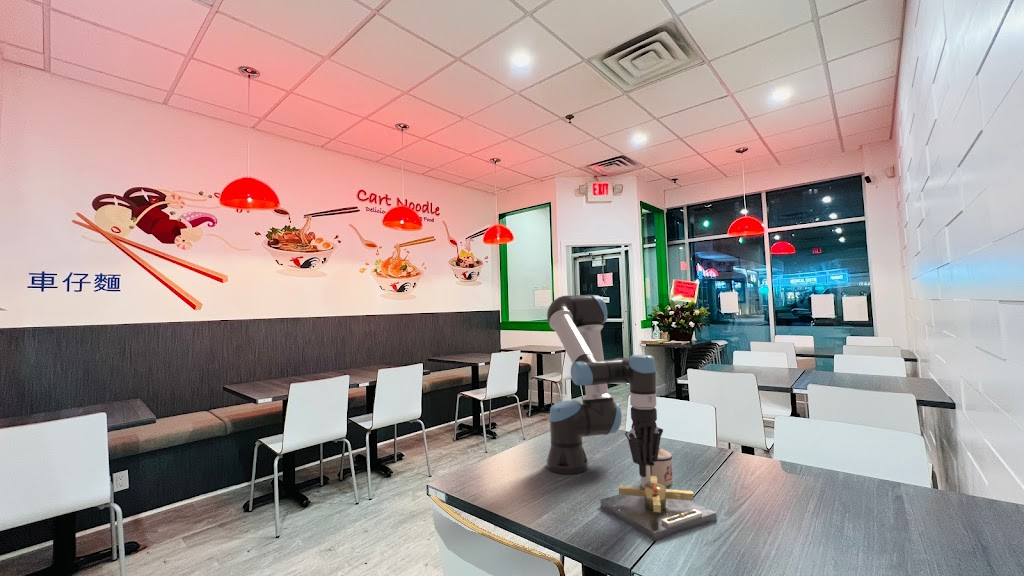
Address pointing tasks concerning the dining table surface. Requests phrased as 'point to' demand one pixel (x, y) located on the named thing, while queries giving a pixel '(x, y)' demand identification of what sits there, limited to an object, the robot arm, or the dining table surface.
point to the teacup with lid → (663, 468)
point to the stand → (658, 515)
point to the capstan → (656, 494)
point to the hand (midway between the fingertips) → (646, 486)
